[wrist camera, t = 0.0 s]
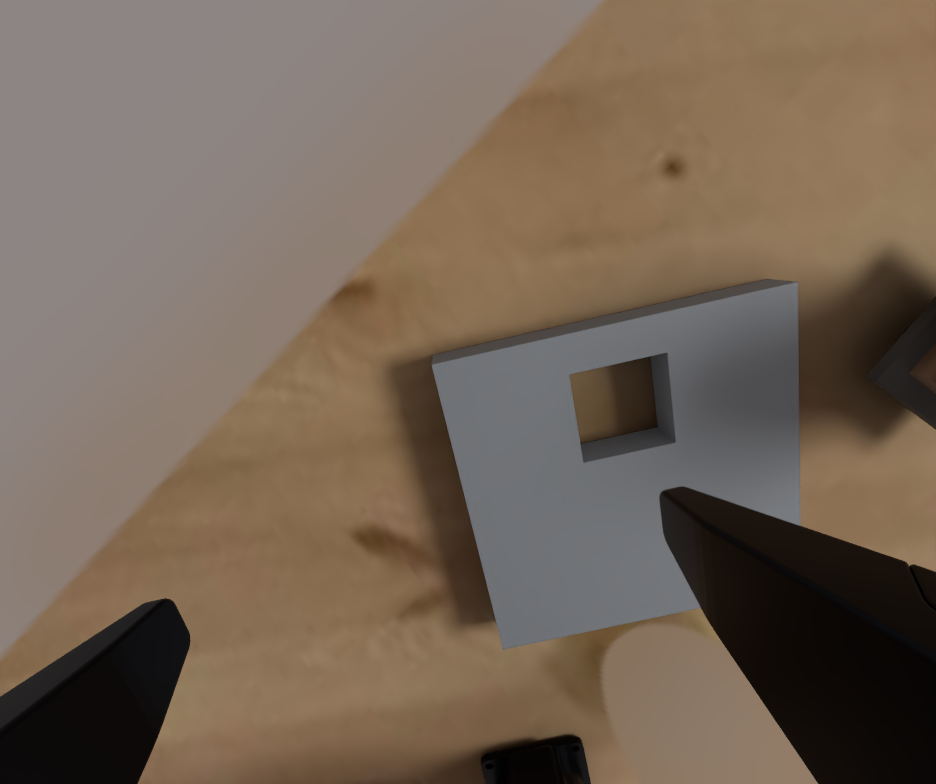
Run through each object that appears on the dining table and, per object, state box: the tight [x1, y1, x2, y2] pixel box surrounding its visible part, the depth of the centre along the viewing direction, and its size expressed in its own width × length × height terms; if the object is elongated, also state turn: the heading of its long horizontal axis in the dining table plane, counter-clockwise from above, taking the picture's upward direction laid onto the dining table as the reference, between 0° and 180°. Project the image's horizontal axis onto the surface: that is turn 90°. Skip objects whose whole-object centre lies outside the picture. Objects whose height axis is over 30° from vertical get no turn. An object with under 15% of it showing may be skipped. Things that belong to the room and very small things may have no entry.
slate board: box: [432, 279, 800, 649], centre depth 24 cm, size 16×16×2 cm
